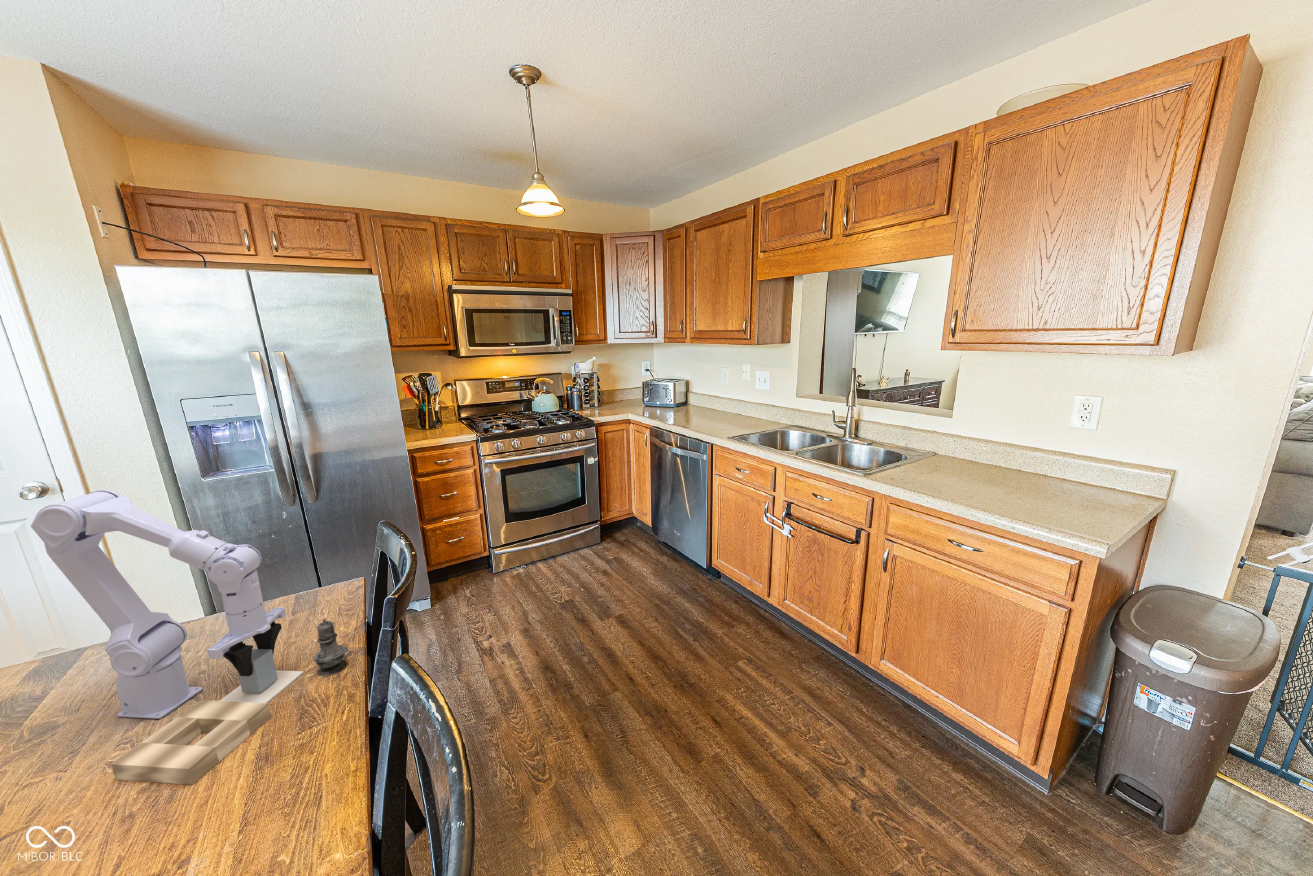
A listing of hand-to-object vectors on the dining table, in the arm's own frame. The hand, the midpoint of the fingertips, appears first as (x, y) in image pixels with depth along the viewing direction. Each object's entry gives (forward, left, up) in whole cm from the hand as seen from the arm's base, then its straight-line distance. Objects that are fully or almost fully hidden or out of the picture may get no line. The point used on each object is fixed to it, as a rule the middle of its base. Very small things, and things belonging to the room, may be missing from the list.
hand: (257, 667), depth 95 cm
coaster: (0, 0, -5) cm, 5 cm away
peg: (0, 0, -4) cm, 4 cm away
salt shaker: (+10, +7, -5) cm, 13 cm away
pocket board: (+2, -14, -5) cm, 15 cm away
